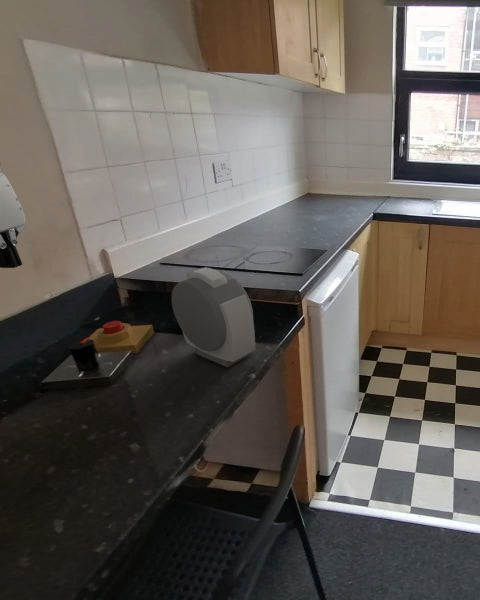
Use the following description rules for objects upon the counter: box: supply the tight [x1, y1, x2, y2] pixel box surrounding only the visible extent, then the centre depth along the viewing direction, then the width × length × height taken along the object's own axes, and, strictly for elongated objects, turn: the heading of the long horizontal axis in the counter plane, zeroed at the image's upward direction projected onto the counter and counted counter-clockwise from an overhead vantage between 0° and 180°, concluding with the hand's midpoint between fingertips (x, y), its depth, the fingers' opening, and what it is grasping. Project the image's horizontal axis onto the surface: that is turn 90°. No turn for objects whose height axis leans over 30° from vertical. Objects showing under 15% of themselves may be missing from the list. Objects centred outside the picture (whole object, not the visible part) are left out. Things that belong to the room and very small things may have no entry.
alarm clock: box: [171, 266, 256, 368], centre depth 86 cm, size 18×8×20 cm, turn 59°
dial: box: [68, 337, 101, 370], centre depth 82 cm, size 4×4×5 cm
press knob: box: [102, 320, 123, 334], centre depth 93 cm, size 4×4×2 cm
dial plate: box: [41, 350, 134, 391], centre depth 83 cm, size 12×10×2 cm
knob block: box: [88, 322, 155, 355], centre depth 94 cm, size 12×10×4 cm
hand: (11, 266), depth 79 cm, fingers closed
